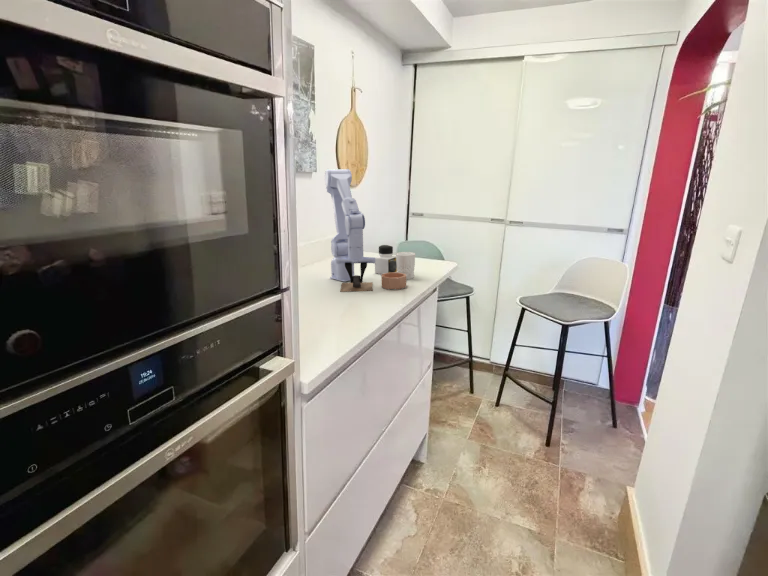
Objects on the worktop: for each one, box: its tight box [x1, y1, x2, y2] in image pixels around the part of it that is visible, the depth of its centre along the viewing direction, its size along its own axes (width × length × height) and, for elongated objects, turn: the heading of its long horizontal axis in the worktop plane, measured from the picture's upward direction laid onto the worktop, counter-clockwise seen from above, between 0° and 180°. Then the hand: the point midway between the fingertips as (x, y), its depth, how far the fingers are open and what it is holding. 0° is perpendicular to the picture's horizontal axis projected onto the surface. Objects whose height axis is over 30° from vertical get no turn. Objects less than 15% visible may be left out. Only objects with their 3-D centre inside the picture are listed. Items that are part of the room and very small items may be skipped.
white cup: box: [395, 251, 416, 280], centre depth 175 cm, size 8×8×10 cm
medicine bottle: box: [374, 244, 397, 275], centre depth 184 cm, size 7×7×12 cm
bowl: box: [380, 272, 407, 290], centre depth 162 cm, size 9×9×4 cm
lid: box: [339, 274, 374, 293], centre depth 162 cm, size 12×12×5 cm
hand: (356, 282), depth 162 cm, fingers closed on lid, 3 cm apart
